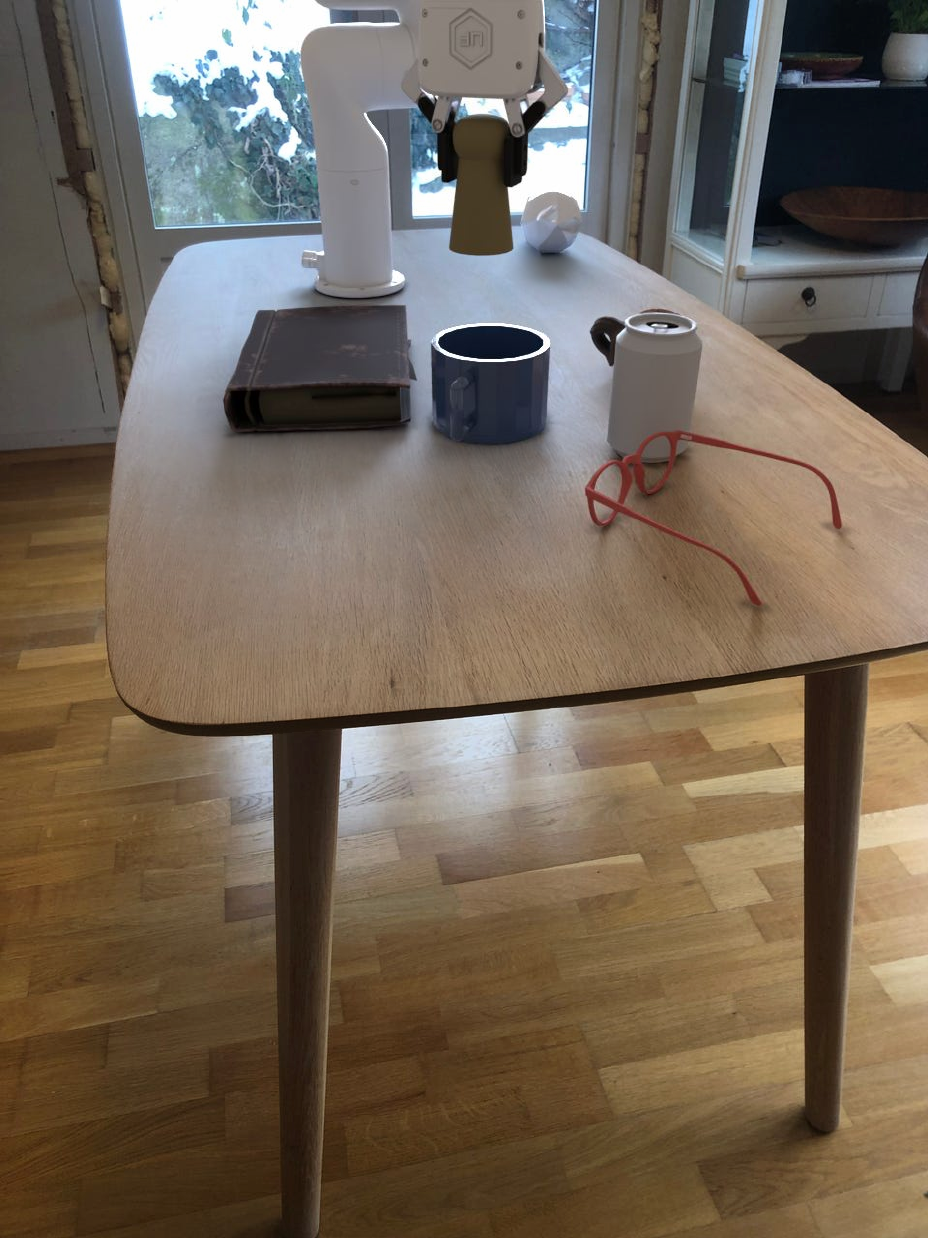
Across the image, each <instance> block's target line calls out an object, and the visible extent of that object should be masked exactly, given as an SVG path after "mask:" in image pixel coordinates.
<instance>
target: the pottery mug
mask: <svg viewBox="0 0 928 1238" xmlns="http://www.w3.org/2000/svg"><path fill="white" fill-rule="evenodd" d="M643 313H669V314H676V315H680V316H682V315H681V314H680V313H678V312H674V311H671V310H669V309H664V308H650V309H645V310H643V311H641V312H639V313H638V314H643ZM625 328H626V326H625V321H622V320H620V319H618V318H617V317H615V316H614V317H613V316H607V315H605V316H601V317H599V318H597V319H595V321H594V322H593V324H592V326H591V328H590V329H589V334H590V338H591V341H592V343H593V345H594V346H595V348H596V349H597V351H599V353H601V354H602V355H603V356H604V357H605V359H606V360H607V364H608V366H609V367H614V357H615V346H616V337H617V335H618V334H619V333H620V332H621V331H623V330H624V329H625ZM695 332H696V333H697V330H695Z"/></svg>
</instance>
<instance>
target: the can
mask: <svg viewBox="0 0 928 1238" xmlns="http://www.w3.org/2000/svg"><path fill="white" fill-rule="evenodd" d="M680 315H681V314H680ZM680 315H676V314H669V313H643V314H639V313H637V314H633V315H630V316H629V317H628V318H627V319H625V320H624V322H625V326H626V328H625V329H624V330H623V331H621V332H620V333H619V334H618V335H617V337H616V346H615V357H614V365H613V368H612V380H611V392H610V402H609V403H610V404H609V413H608V425H607V437H606V441H607V443H608V444H609V446H610V447H611V448H612V449H613V450H614V451H615V452H616V454H617V455H619V456H621V458H624V457H625V456H627V455H632V454H636V452H637V450H638V448H639V447H640V445H641V444H642V443H643V441H644V440H646V439H647V438H648V437H650V436H651V435H653V434H656V433H660V432H672V431H677V430H679V431H684V432H689V433H691V429H692V421H693V416H694V415H693V414H694V407H695V402H696V401H695V400H696V394H697V386H698V379H699V374H700V373H699V372H700V365H701V359H702V351H703V340H702V339H701V337H700V336H699V335H698V333H697V330H698V324H697V322H695V320H693V319H692V318H690V317H686V316H685V315H684V316H683V315H681V316H680ZM695 331H696V332H695ZM689 443H690V441H686V440H678V442H677V447H676V454H675V458H676V457H677V456H679V455H680V454H681V453H683V452H685V451H686V450H687V448H688V447H689ZM670 452H671V448H670V442H669V440H668V438H667V437H666V436H660V437H657V438H655V439H653V440H652V441H650V442H649V443H648V444H647V445H646V447H645V448H644V450H643V452H642V455H641V462H642V463H645V464H655V463H665V462H669V459H670Z"/></svg>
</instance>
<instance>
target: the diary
mask: <svg viewBox="0 0 928 1238" xmlns="http://www.w3.org/2000/svg"><path fill="white" fill-rule="evenodd" d="M255 313H256V314H255V316H254V319H253V321H252V325H251V328H250V332H249V334H248V335H247V338H246V340H245V342H244V344H243V346H242V348H241V352H240V354H239V357H238V362H237V364H236V367H235V370H234V372H233V374H232V376H231V377H230V380H229V382H228V383H227V387H226V388H225V390H224V396H223V399H222V402H223V403H222V404H223V409H224V415H225V417H226V419H227V422H228V425H229V427H230V429H231V430H232V431H233V432H235V433H238V432H255V431H257V432H277V431H278V432H279V431H311V430H313V431H315V430H318V431H319V430H349V429H351V430H353V429H355V430H356V429H369V428H370V429H371V428H381V427H393V426H403V425H405V424H408V423H410V422H411V421H412V410H411V409H412V408H411V381H416V382H417V381H418V379H417V376H416V372H415V368H414V365H413V363H412V361H411V359H410V356H409V349H410V348H411V345H412V339H408V337H409V336H408V320H407V319H408V318H407V317H408V316H407V305H406V304H382V305H381V304H377V305H376V304H373V305H371V304H370V305H369V304H366V305H365V304H361V305H359V304H358V305H323V306H322V305H321V306H309V307H297V308H296V307H295V308H282V309H277V310H275V309H258V310H257V311H256V312H255Z"/></svg>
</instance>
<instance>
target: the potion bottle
mask: <svg viewBox="0 0 928 1238" xmlns="http://www.w3.org/2000/svg"><path fill="white" fill-rule="evenodd" d="M582 221H583V220H582V212H581V208H580V206H579V203H578V200H576V199H575V198H574V197H573V196H572V195H570V194H569V193H568V192H567V191H565V190H564V189H563V188H542V189H541V190H539V191H538V192H536V193H535V194H534V195H532V197H531V196H530V197H527V201H526V203H525V206H524V209H523V212H522V215H521V218H520V223H519V226H520V227H521V230H522V233H523V236H524V239H525V242H526V243H527V244H528V245H529V246H531V247H532V248H534V249H535V250H536V251H538V252H539V253H540V254H559V253H562V252H563V251H565V250H567V249H568V248H570V247H571V246H572V245H573V243H574V242H575V241H576V240H577V237H578V235H579V233H580V231H581V225H582Z"/></svg>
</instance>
